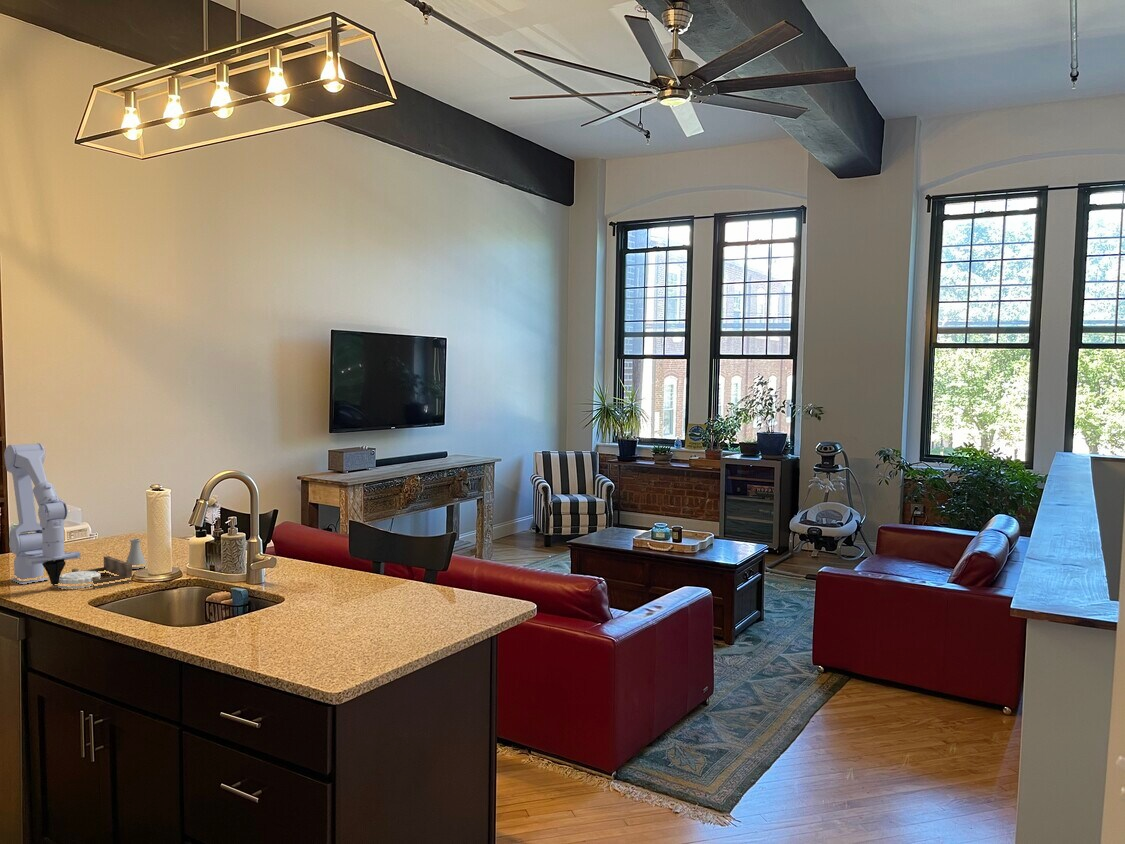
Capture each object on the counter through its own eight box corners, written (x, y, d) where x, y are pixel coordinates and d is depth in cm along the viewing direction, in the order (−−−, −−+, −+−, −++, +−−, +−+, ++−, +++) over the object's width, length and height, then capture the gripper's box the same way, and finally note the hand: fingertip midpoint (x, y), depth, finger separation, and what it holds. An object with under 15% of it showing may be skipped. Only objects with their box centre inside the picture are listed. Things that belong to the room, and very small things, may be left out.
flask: (151, 566, 288) (151, 537, 287) (139, 571, 281) (138, 541, 280) (132, 565, 288) (131, 537, 288) (119, 570, 281) (118, 541, 281)
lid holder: (71, 579, 267) (70, 561, 267) (108, 573, 276) (108, 556, 276) (93, 589, 256) (93, 570, 255) (132, 582, 264) (131, 564, 264)
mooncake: (59, 592, 252) (59, 580, 252) (54, 584, 262) (54, 573, 262) (103, 586, 260) (103, 575, 260) (97, 578, 269) (97, 568, 269)
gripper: (31, 546, 247) (32, 591, 247) (84, 539, 258) (84, 582, 258) (23, 543, 251) (24, 587, 252) (75, 536, 262) (76, 579, 263)
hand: (54, 584), depth 255 cm, fingers closed
